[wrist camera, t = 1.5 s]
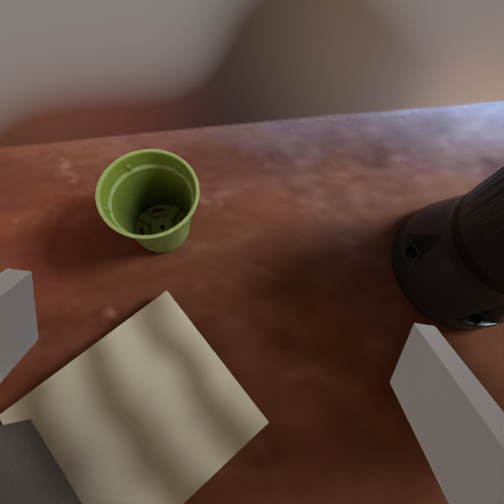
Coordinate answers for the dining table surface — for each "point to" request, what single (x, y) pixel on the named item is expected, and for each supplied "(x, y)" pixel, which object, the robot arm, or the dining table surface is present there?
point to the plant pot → (149, 198)
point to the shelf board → (142, 412)
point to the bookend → (30, 469)
